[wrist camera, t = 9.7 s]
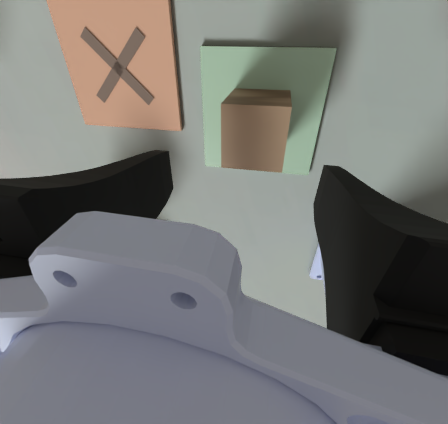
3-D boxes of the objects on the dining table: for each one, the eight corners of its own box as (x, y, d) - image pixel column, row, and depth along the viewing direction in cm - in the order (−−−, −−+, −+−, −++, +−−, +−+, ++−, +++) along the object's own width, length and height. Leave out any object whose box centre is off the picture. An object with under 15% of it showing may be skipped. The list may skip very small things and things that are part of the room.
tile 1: (169, -11, 16) (166, -12, 16) (182, 129, 21) (180, 131, 21) (48, -8, 17) (42, -9, 17) (88, 123, 23) (84, 124, 22)
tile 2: (335, 47, 16) (336, 48, 16) (307, 173, 21) (308, 175, 21) (201, 45, 18) (199, 46, 17) (206, 163, 23) (205, 165, 22)
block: (290, 90, 18) (291, 107, 14) (282, 144, 20) (282, 172, 16) (234, 88, 18) (220, 103, 14) (233, 141, 21) (221, 167, 17)
